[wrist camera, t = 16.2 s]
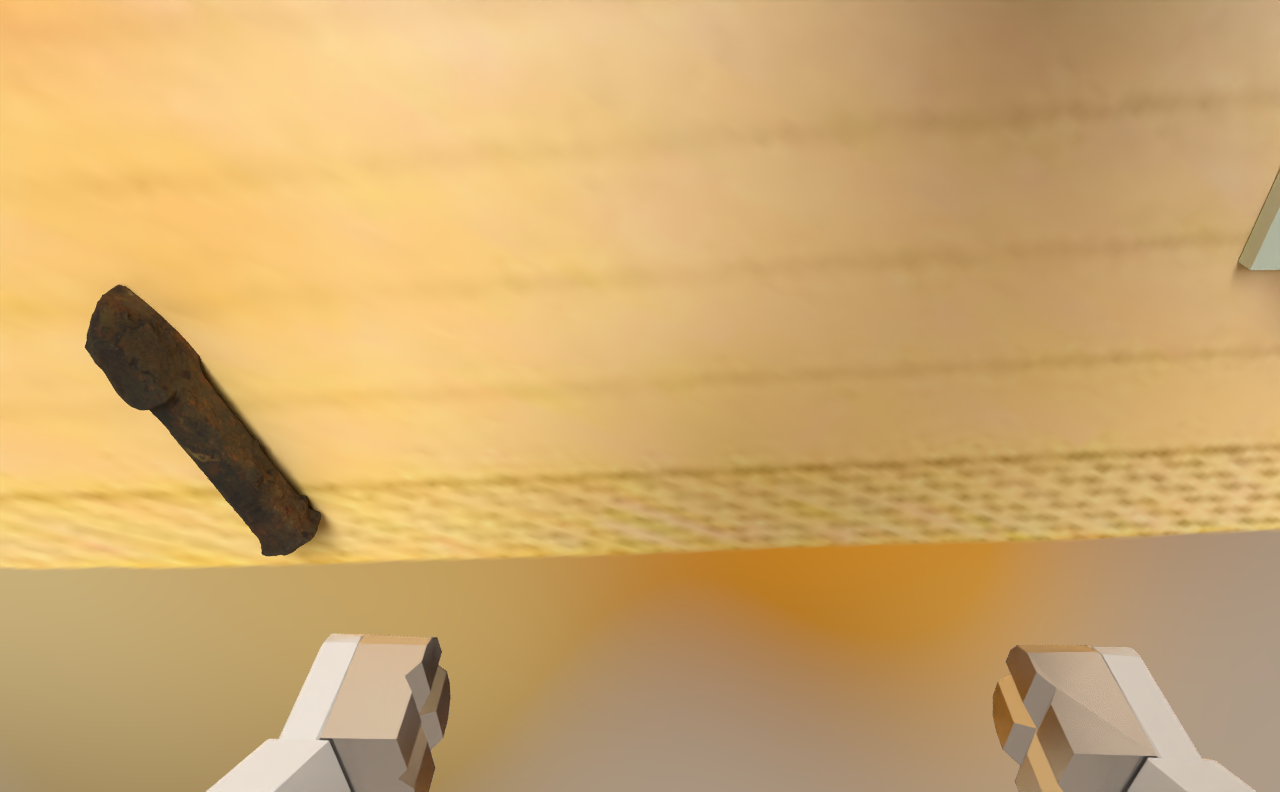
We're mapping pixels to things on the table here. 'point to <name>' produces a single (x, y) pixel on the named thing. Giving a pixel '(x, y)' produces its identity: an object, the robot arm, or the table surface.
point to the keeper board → (1265, 235)
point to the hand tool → (195, 417)
